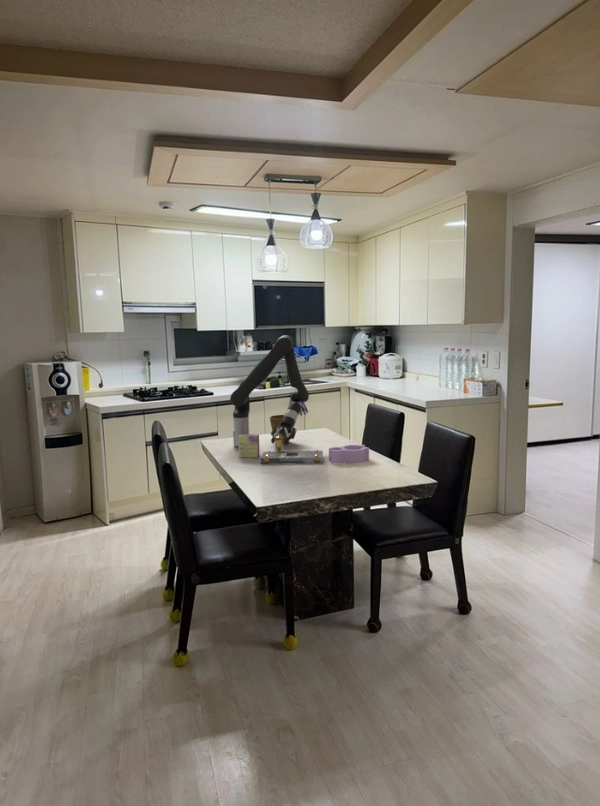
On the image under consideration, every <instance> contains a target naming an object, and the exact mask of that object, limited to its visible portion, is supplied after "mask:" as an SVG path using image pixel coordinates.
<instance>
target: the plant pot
mask: <svg viewBox="0 0 600 806" xmlns="http://www.w3.org/2000/svg"><path fill="white" fill-rule="evenodd" d="M284 415H285V414H276V415H272V416H269V420H270V427H271V431H272V430H273V428H274V427H275V426H277V427H280V425H281V421H282V419H283V417H284ZM291 432H292V431H291ZM291 432H290V435H291ZM278 433H279V432H278ZM280 436H283V438H282V443H284V442H285V439H286V438H287V435H280ZM290 440H291V439H290ZM290 440H289V442H290Z"/></svg>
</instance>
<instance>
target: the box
mask: <svg viewBox="0 0 600 806" xmlns="http://www.w3.org/2000/svg"><path fill="white" fill-rule="evenodd" d="M238 440H239V447H238V458H256V457H257V458H259V457H260V454H261V453H260V434H259V433H258V434H252V433H251V434H240V435H239V437H238Z"/></svg>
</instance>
